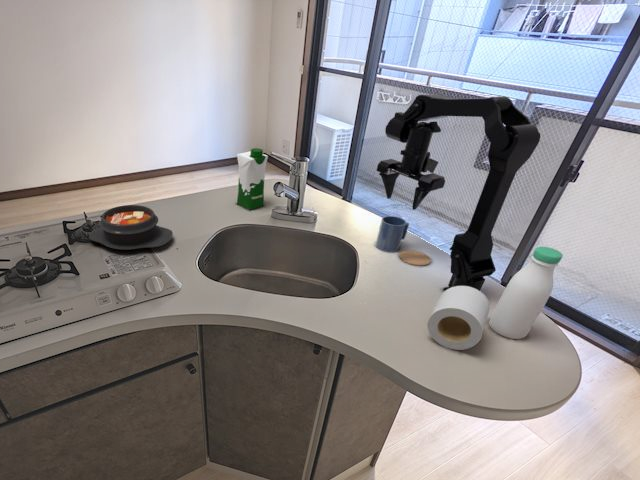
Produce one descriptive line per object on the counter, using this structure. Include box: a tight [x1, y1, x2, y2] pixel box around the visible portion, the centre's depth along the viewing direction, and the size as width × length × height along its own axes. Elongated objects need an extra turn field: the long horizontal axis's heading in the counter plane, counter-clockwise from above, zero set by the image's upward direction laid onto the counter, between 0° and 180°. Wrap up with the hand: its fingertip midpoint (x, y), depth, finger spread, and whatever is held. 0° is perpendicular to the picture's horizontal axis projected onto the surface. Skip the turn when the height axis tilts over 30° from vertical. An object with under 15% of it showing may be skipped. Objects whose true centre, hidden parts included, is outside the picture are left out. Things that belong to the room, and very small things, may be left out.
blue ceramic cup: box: [375, 215, 410, 253], centre depth 118 cm, size 9×7×8 cm
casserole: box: [88, 204, 173, 251], centre depth 117 cm, size 25×19×8 cm
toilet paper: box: [427, 286, 491, 351], centre depth 84 cm, size 10×10×10 cm
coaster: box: [398, 249, 432, 267], centre depth 115 cm, size 9×9×1 cm
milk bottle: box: [488, 246, 563, 340], centre depth 83 cm, size 8×8×20 cm
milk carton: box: [236, 147, 269, 211], centre depth 138 cm, size 9×9×20 cm
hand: (401, 203), depth 113 cm, fingers open, 9 cm apart
